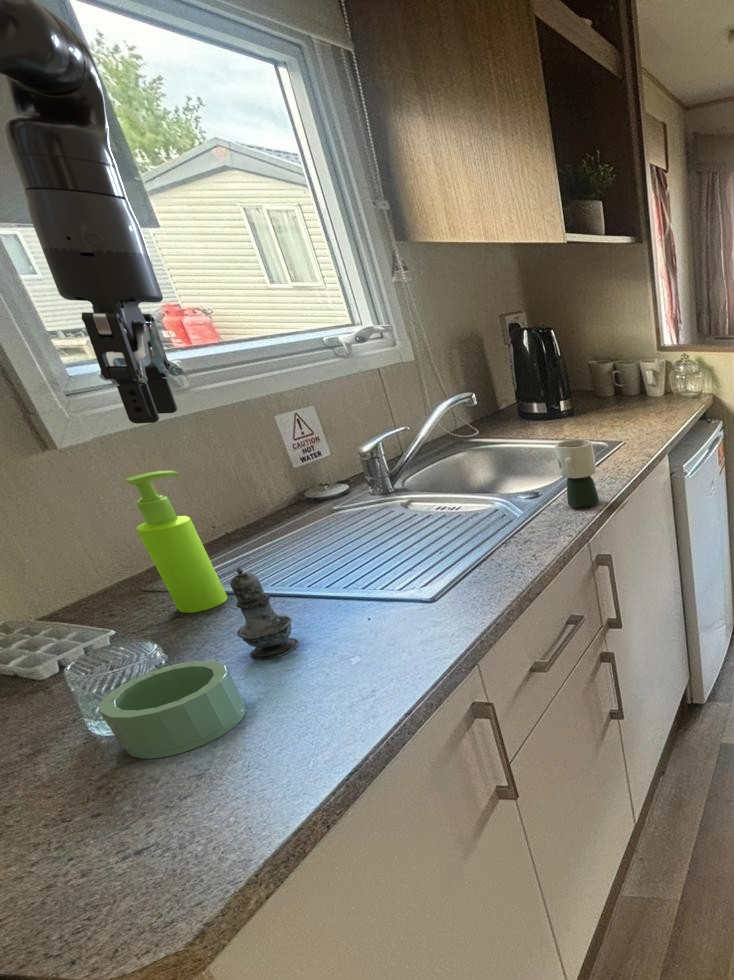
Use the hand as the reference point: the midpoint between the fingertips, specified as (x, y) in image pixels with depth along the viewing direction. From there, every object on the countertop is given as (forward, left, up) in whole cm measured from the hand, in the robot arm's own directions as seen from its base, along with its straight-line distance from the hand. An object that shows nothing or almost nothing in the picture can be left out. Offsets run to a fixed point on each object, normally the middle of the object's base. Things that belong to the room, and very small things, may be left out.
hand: (155, 417), depth 71 cm
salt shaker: (0, +3, -31) cm, 31 cm away
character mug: (+43, +46, -31) cm, 71 cm away
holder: (-4, -13, -31) cm, 34 cm away
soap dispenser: (-14, +23, -31) cm, 41 cm away
